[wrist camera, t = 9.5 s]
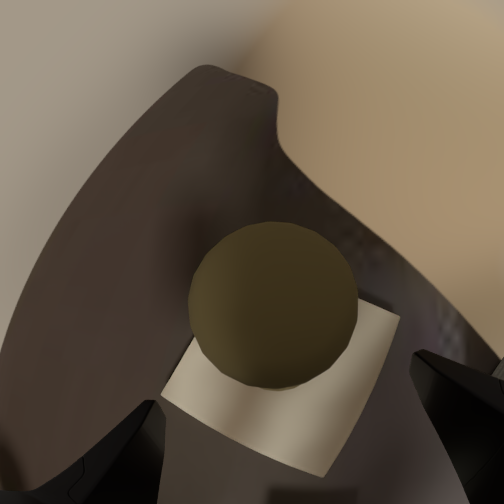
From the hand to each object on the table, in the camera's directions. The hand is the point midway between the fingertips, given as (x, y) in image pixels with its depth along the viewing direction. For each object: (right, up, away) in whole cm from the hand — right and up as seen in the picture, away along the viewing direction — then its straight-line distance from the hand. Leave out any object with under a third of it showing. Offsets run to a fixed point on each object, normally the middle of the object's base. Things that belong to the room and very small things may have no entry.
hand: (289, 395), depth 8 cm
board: (+1, -3, +9) cm, 9 cm away
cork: (0, -1, +9) cm, 9 cm away
